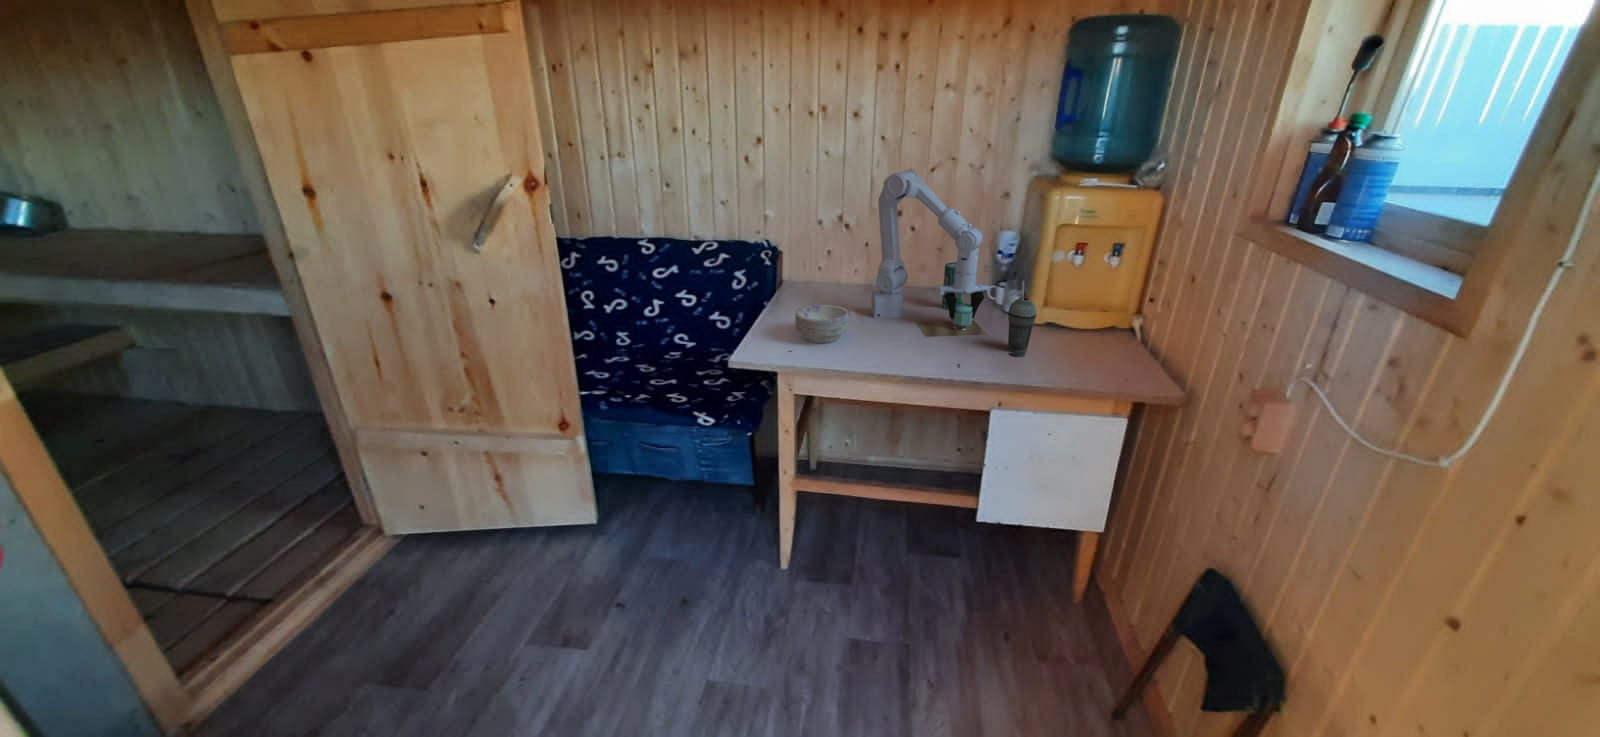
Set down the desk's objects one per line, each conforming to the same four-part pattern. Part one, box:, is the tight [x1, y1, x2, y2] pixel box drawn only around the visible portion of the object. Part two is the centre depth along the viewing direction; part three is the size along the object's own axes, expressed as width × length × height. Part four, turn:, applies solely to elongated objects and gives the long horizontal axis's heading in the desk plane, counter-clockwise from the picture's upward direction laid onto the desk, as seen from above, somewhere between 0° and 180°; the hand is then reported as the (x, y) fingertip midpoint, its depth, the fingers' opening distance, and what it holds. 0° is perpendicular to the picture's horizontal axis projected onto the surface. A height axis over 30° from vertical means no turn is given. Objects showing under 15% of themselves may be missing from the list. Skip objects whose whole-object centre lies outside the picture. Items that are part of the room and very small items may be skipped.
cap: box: [950, 302, 973, 326], centre depth 190 cm, size 5×5×5 cm
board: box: [914, 319, 988, 338], centre depth 192 cm, size 18×12×1 cm, turn 95°
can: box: [941, 261, 964, 311], centre depth 207 cm, size 6×6×15 cm
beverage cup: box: [1007, 280, 1038, 358], centre depth 173 cm, size 7×7×20 cm
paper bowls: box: [794, 304, 850, 344], centre depth 187 cm, size 15×15×8 cm
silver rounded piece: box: [953, 325, 968, 331], centre depth 191 cm, size 4×4×4 cm
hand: (961, 317), depth 191 cm, fingers closed on cap, 5 cm apart
